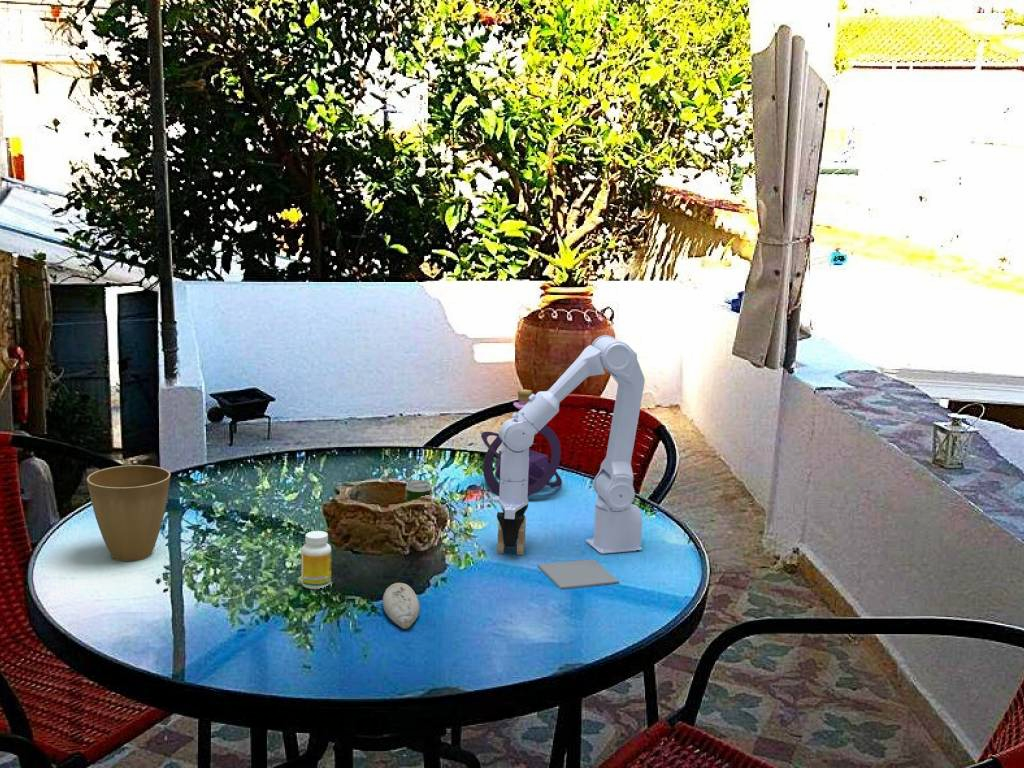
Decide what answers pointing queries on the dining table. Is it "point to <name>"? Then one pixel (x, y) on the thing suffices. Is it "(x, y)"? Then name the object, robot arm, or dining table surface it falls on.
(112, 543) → the plant pot
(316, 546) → the supplement bottle
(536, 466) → the decorative bottle
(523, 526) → the wooden u-frame
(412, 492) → the beer can
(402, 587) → the decorative stone
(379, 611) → the dining table surface
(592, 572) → the slate mat
